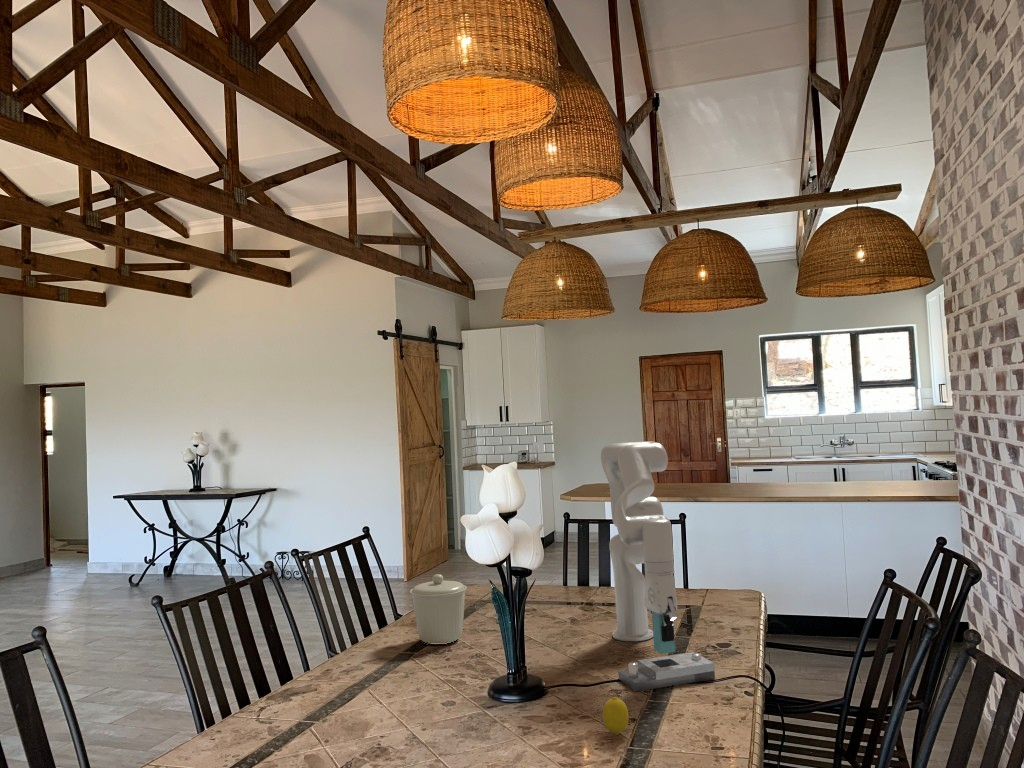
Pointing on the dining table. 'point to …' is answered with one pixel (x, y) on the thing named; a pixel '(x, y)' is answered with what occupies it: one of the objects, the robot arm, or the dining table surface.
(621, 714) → the lemon
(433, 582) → the canister
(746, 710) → the dining table surface
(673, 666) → the grey slotted base
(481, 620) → the dining table surface
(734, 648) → the dining table surface
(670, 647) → the pin
